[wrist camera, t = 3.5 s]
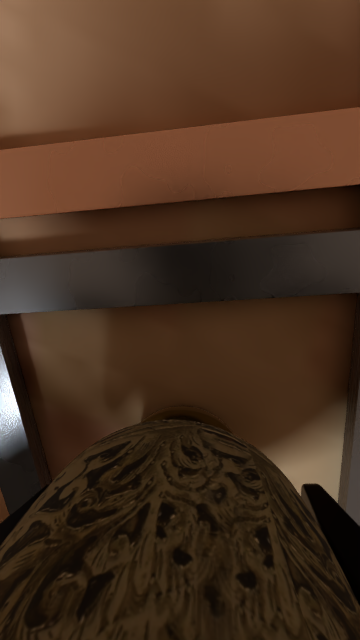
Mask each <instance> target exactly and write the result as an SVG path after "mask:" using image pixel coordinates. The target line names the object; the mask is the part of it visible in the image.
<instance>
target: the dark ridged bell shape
mask: <svg viewBox="0 0 360 640" xmlns="http://www.w3.org/2000/svg"><path fill="white" fill-rule="evenodd" d="M0 640H360V605H359V603H358V601H357V599H356V597H355V595H354V593H353V591H352V589H351V587H350V585H349V583H348V581H347V579H346V577H345V575H344V573H343V571H342V569H341V567H340V565H339V563H338V561H337V559H336V557H335V555H334V553H333V551H332V549H331V547H330V546H329V544H328V542H327V540H326V538H325V536H324V534H323V532H322V531H321V529H320V527H319V525H318V524H317V522H316V520H315V519H314V517H313V515H312V513H311V512H310V510H309V508H308V507H307V505H306V504H305V502H304V501H303V499H302V498H301V496H300V495H299V493H298V492H297V491H296V489H295V488H294V486H293V485H292V483H291V482H290V481H289V480H288V478H287V477H286V476H285V475H284V474H283V473H282V471H281V470H280V469H279V468H278V467H277V466H276V465H275V464H274V463H273V462H272V461H271V460H270V459H268V458H267V457H266V456H265V455H264V454H263V453H262V452H260V451H259V450H258V449H256V448H255V447H254V446H252V445H251V444H249V443H247V442H246V441H244V440H242V439H241V438H239V437H237V436H236V435H234V434H233V432H232V431H231V430H230V429H229V428H228V426H227V425H226V424H225V423H224V422H223V421H222V420H220V419H219V418H218V417H216V416H215V415H213V414H212V413H210V412H207V411H205V410H202V409H200V408H196V407H190V406H173V407H168V408H164V409H161V410H159V411H157V412H155V413H153V414H151V415H150V416H148V417H147V418H145V419H144V420H143V421H142V422H141V423H139V424H136V425H133V426H130V427H127V428H124V429H121V430H119V431H116V432H114V433H112V434H110V435H108V436H106V437H104V438H103V439H101V440H100V441H98V442H97V443H95V444H94V445H92V446H91V447H89V448H88V449H86V450H85V451H83V452H82V453H81V454H80V455H79V456H77V457H76V458H75V459H74V460H73V461H72V462H71V463H70V464H69V465H68V466H67V467H66V468H65V469H64V470H62V471H61V472H60V474H59V475H58V476H57V477H56V478H55V479H54V480H53V482H52V483H51V484H50V485H49V486H48V487H47V488H46V490H45V491H44V492H43V493H42V494H41V495H40V496H39V498H38V499H37V500H36V501H35V502H34V503H33V505H32V506H31V507H30V508H29V510H28V511H27V512H26V513H25V515H24V516H23V517H22V518H21V520H20V521H19V522H18V523H17V525H16V526H15V527H14V529H13V530H12V531H11V532H10V534H9V535H8V536H7V538H6V539H5V540H4V542H3V543H2V544H1V546H0Z"/></svg>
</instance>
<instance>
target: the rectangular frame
mask: <svg viewBox="0 0 360 640" xmlns="http://www.w3.org/2000/svg"><path fill="white" fill-rule="evenodd" d="M352 185H360V107H356V108H347V109H339V110H331V111H322V112H314V113H305V114H297V115H289V116H280V117H272V118H263V119H255V120H247V121H238V122H230V123H222V124H213V125H205V126H196V127H188V128H180V129H171V130H163V131H154V132H146V133H138V134H129V135H121V136H113V137H104V138H96V139H87V140H79V141H71V142H62V143H54V144H46V145H37V146H29V147H20V148H12V149H4V150H0V219H4V218H15V217H25V216H36V215H47V214H57V213H68V212H78V211H89V210H99V209H110V208H120V207H131V206H141V205H152V204H163V203H173V202H184V201H194V200H205V199H215V198H226V197H236V196H247V195H258V194H268V193H279V192H289V191H300V190H310V189H321V188H331V187H342V186H352ZM342 293H358V294H357V305H356V316H355V326H354V337H353V348H352V358H351V369H350V380H349V390H348V401H347V412H346V423H345V433H344V444H343V455H342V465H341V476H340V487H339V497H338V504H339V505H340V506H341V507H342V508H343V509H344V510H345V511H346V512H347V514H348V515H349V516H350V517H351V518H352V519H353V520H354V521H355V522H356V523H357V524H358V525H359V526H360V228H350V229H338V230H326V231H313V232H301V233H289V234H276V235H264V236H252V237H240V238H227V239H215V240H203V241H190V242H178V243H166V244H153V245H141V246H129V247H117V248H104V249H92V250H80V251H67V252H55V253H43V254H30V255H18V256H6V257H0V488H1V491H2V494H3V497H4V500H5V503H6V506H7V509H8V512H9V514H10V515H11V514H12V513H13V512H15V511H16V510H17V509H18V508H19V507H21V506H22V505H23V504H24V503H25V502H27V501H28V500H29V499H30V498H31V497H32V496H34V495H35V494H36V493H37V492H38V491H40V490H41V489H42V488H43V487H44V486H46V485H48V484H51V483H52V481H51V478H50V474H49V470H48V467H47V463H46V460H45V456H44V452H43V449H42V445H41V441H40V438H39V434H38V430H37V427H36V423H35V420H34V416H33V412H32V409H31V405H30V401H29V398H28V394H27V390H26V387H25V383H24V380H23V376H22V372H21V369H20V365H19V361H18V358H17V354H16V350H15V347H14V343H13V340H12V336H11V332H10V329H9V325H8V321H7V318H6V314H14V313H30V312H47V311H63V310H80V309H96V308H112V307H129V306H145V305H162V304H178V303H195V302H211V301H227V300H244V299H260V298H277V297H293V296H310V295H326V294H342Z"/></svg>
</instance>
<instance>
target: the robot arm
mask: <svg viewBox="0 0 360 640" xmlns="http://www.w3.org/2000/svg"><path fill="white" fill-rule="evenodd" d="M49 485H50V484H48V485H46V486H44V487H43V488H42V489H41V490H40V491H38V492H37V493H36V494H35V495H34V496H32V497H31V498H30V499H29V500H28V501H27V502H25V503H24V504H23V505H22V506H21V507H19V508H18V509H17V510H16V511H15V512H13V513H12V514H11V515H10V516H9V517H7V518H6V519H5V520H4V521H3V522H1V523H0V546H1V544H2V543H3V542H4V540H5V539H6V538H7V536H8V535H9V534H10V532H11V531H12V530H13V529H14V527H15V526H16V525H17V523H18V522H19V521H20V520H21V518H22V517H23V516H24V515H25V513H26V512H27V511H28V510H29V508H30V507H31V506H32V505H33V503H34V502H35V501H36V500H37V499H38V498H39V496H40V495H41V494H42V493H43V492H44V491H45V490H46V488H47V487H48V486H49ZM301 498H302V499H303V501H304V502H305V504H306V505H307V507H308V508H309V510H310V512H311V513H312V515H313V517H314V519H315V520H316V522H317V524H318V525H319V527H320V529H321V531H322V532H323V534H324V536H325V538H326V540H327V542H328V544H329V546H330V547H331V549H332V551H333V553H334V555H335V557H336V559H337V561H338V563H339V565H340V567H341V569H342V571H343V573H344V575H345V577H346V579H347V581H348V583H349V585H350V587H351V589H352V591H353V593H354V595H355V597H356V599H357V601H358V603H359V605H360V526H359V525H358V524H357V523H356V522H355V521H354V520H353V519H352V518H351V517H350V516H349V515H348V514H347V512H346V511H345V510H344V509H343V508H342V507H341V506H340V505H339V504H338V503H337V502H336V501H335V500H334V499H333V498H332V497H331V496H330V495H329V494H328V493H327V492H326V491H325V490H324V489H323V488H322V487H321V486H320V485H319V484H303V485H302V488H301Z"/></svg>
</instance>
